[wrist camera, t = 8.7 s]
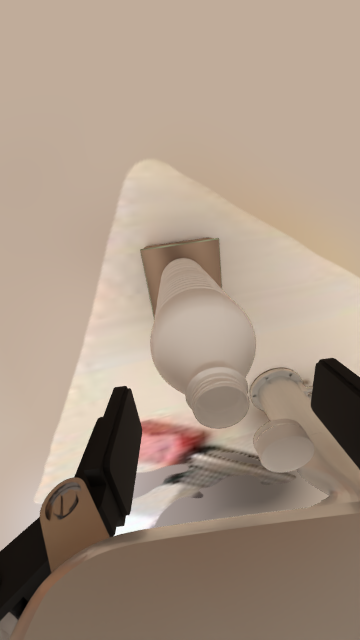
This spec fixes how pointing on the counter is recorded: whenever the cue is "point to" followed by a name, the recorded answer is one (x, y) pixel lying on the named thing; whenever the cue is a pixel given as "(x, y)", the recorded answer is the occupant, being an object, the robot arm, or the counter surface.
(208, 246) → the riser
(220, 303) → the water bottle
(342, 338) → the counter surface
